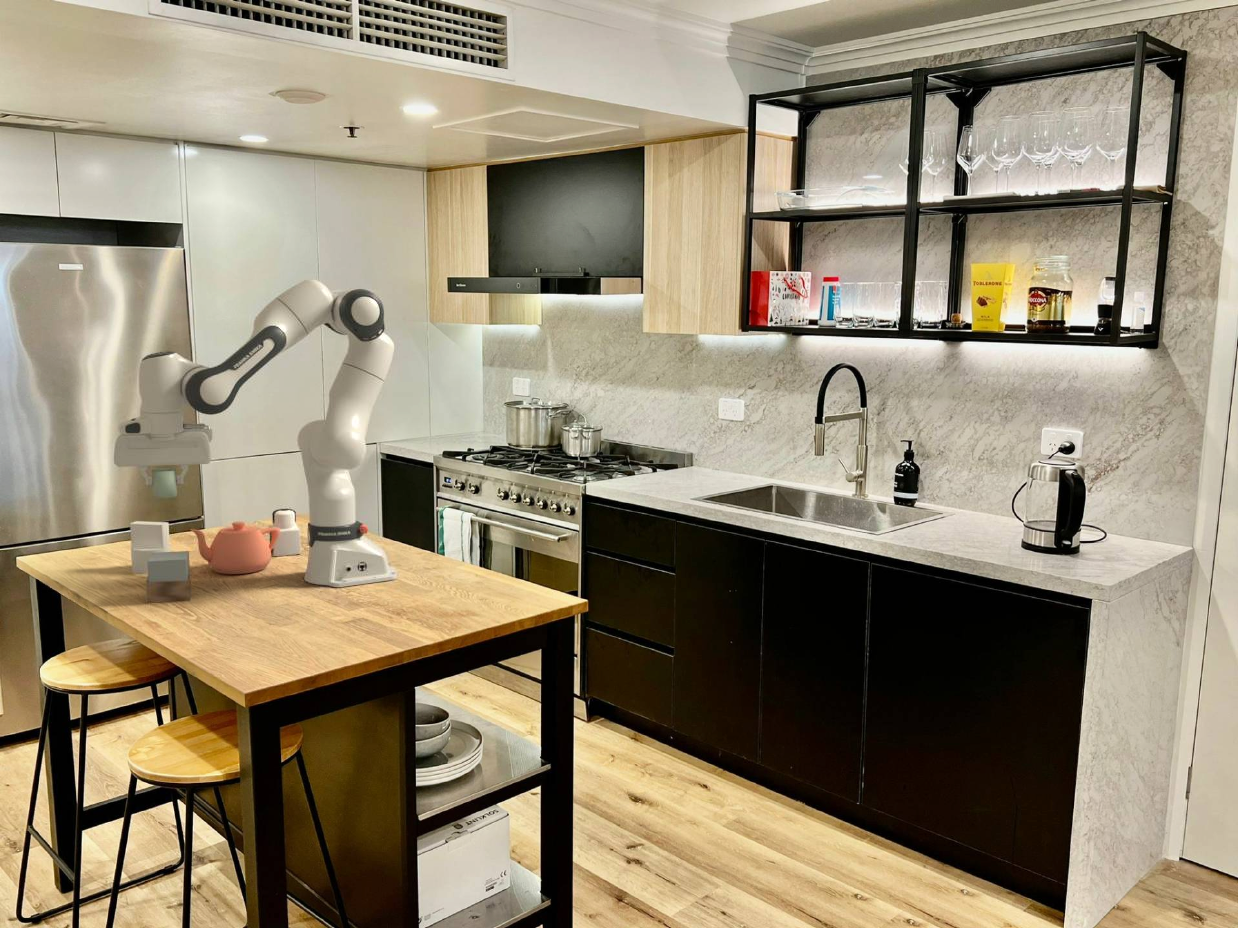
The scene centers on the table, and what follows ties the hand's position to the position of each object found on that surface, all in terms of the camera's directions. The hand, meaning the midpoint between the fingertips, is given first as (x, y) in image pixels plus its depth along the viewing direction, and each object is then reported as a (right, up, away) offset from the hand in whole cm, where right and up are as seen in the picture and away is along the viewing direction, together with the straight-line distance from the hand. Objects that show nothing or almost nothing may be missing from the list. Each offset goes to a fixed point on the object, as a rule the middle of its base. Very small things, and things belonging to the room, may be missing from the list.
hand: (164, 484), depth 233 cm
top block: (0, -21, +3) cm, 22 cm away
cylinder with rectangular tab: (-15, -22, +28) cm, 39 cm away
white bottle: (+12, -20, +47) cm, 52 cm away
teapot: (+6, -23, +29) cm, 37 cm away
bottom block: (-1, -26, +4) cm, 27 cm away
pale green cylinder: (0, -3, 0) cm, 3 cm away
